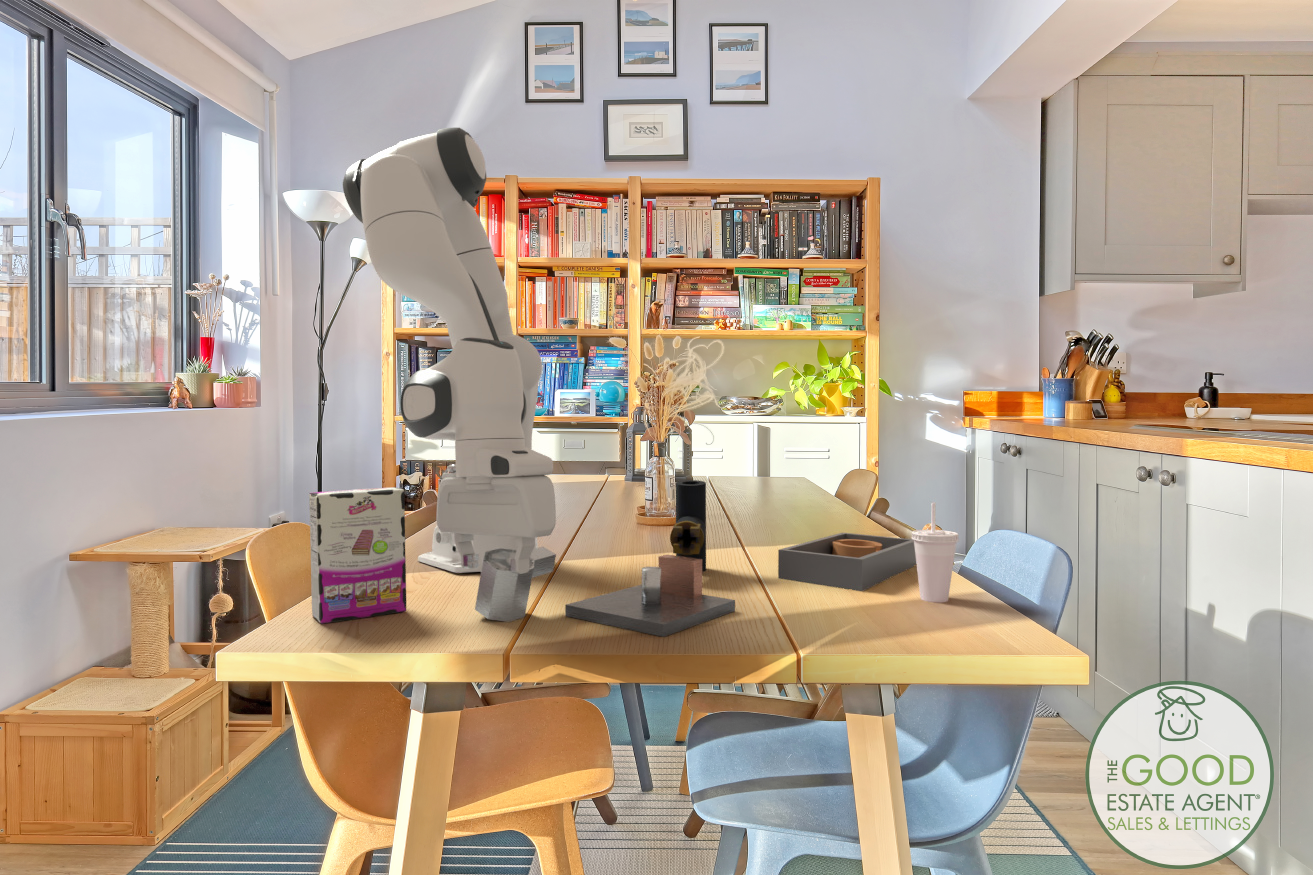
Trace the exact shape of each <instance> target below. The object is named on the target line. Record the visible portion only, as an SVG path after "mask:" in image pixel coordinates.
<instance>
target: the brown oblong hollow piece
mask: <svg viewBox="0 0 1313 875" xmlns="http://www.w3.org/2000/svg"><path fill="white" fill-rule="evenodd" d="M880 550H882V544H881V543H878V542H874V541H868V540H858V539H840V540H835V541H833V545H832V555H839V556H847V557H856V558H860V557H862V556H865V555H868V554H871V553H874V552H877V551H880Z"/></svg>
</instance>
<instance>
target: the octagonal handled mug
mask: <svg viewBox="0 0 1313 875" xmlns="http://www.w3.org/2000/svg"><path fill="white" fill-rule="evenodd" d="M516 552H517V550H513V549H506V548H498V549H494V550H490V551H486V552H485V555H484V560H483V564H482V570H481V572H480V576H479V583H478V588H477V593H476V600H475V605H474V606H475V607H474V610H475V611H476V612H478V613H479V614H480V615H482V616H483V617H484V618H486V619H487V620H492V621H500V622H506V623H509V622H514V621H516V620H519V619H521V618H524V617H525V616H526V612H527V606H528V601H529V596H530V590H531V585H532V581H533V578H536V577H539V576H542V575H546V574H549V573H553V572H554V567H555V563H556V562H555V561H556V556H557V554H556V553H554V551H551V550H550V549H548V548H546V547H545V546H538V548H535V549H533V551H532V553H531V556H530V558H529V571H528V572H527V573H522V574H517V573H512V572H511V564H510V559H515V555H516Z"/></svg>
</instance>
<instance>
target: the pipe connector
mask: <svg viewBox="0 0 1313 875" xmlns="http://www.w3.org/2000/svg"><path fill="white" fill-rule="evenodd" d="M669 541H670V545H671V546H672V553H673V554H675V556H682V557H689V558H697V559H702V573H704V572H706V571H707V482H705V481H704V480H703V481H702V480H698V479H697V480H696V479H691V480H690V479H687V480H685V479H684V480H679V481H676V482H675V523H674V525H673V527H672V530H671V532H670V534H669Z"/></svg>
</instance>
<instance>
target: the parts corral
mask: <svg viewBox="0 0 1313 875" xmlns="http://www.w3.org/2000/svg"><path fill="white" fill-rule="evenodd" d="M840 539H858V540H868V541H874V542H878V543H881V544H882V550H880V551H877V552H874V553H871V554H868V555H865V556H862V557H860V558H856V557H847V556H839V555H832V545H833V541H835V540H840ZM777 552H778V557H777V558H778V560H777V561H778V566H777V568H778V569H777V574H778V576H777V578H778V580H779V579H780V580H786V581H793V582H800V583H806V584H811V585H818V586H825V587H831V588H837V587H838V588H837V589H843V588H844V589H845V590H849V589H852V590H851V591H857V592H864V591H866V590H868V589H870V588H873V587H874V586H877V585H878V584H881V583H883V582H885V581H887V580H889V579H891V578H893V577H895V576H897V575H899V574H902V573H903V572H905V571H907V570H909V569H911V568H913V567H915V566H914V565H916V555H915V546H914V540H913V539H912V538H903V537H893V536H892V537H891V536H883V535H881V536H880V535H874V534H873V535H872V534H861V533H850V532H840V533H836V534H832V535H828V536H825V537H820V538H818V539H814V540H810V541H805V542H802V543H798V544H794V545H791V546H787V547H784V548H780V549H778V551H777ZM916 566H917V565H916ZM906 569H907V570H906ZM898 573H899V574H898ZM894 575H895V576H894ZM892 576H893V577H892ZM890 577H891V578H890ZM844 589H843V590H844Z"/></svg>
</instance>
